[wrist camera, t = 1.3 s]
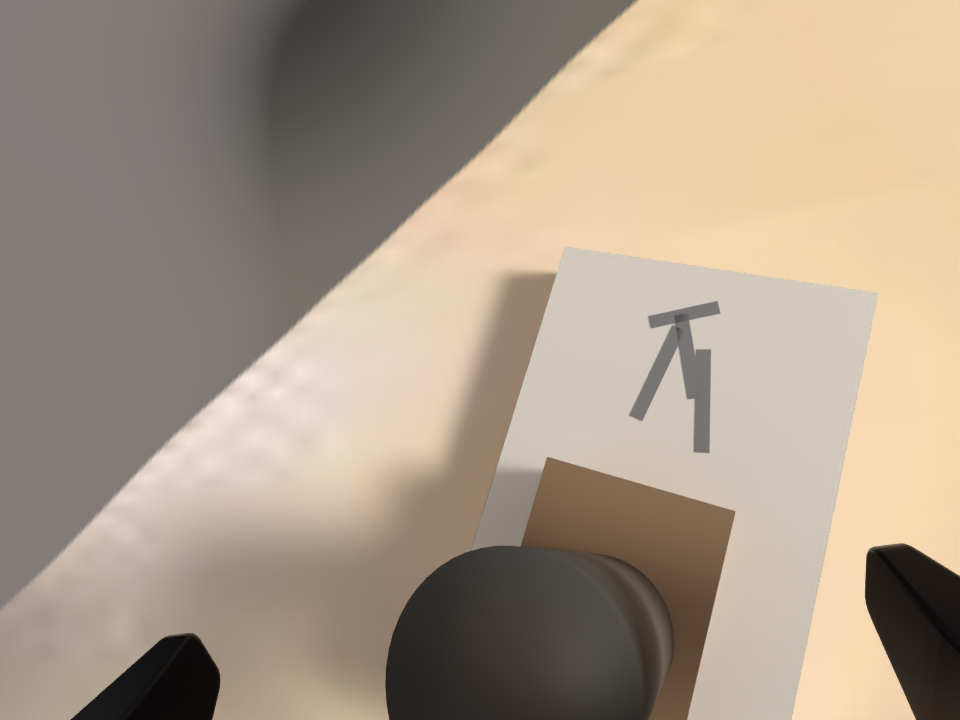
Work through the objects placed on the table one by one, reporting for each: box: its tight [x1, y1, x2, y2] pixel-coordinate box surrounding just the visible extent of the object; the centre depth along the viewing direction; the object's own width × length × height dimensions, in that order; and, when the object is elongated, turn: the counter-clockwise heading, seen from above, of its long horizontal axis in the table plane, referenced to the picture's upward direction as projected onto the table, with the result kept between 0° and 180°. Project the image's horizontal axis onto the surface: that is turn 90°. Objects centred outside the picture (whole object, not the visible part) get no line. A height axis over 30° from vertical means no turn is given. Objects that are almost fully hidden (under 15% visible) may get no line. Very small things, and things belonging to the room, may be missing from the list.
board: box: [471, 247, 878, 720], centre depth 19 cm, size 14×9×2 cm, turn 161°
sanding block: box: [386, 457, 736, 720], centre depth 13 cm, size 7×4×10 cm, turn 161°
